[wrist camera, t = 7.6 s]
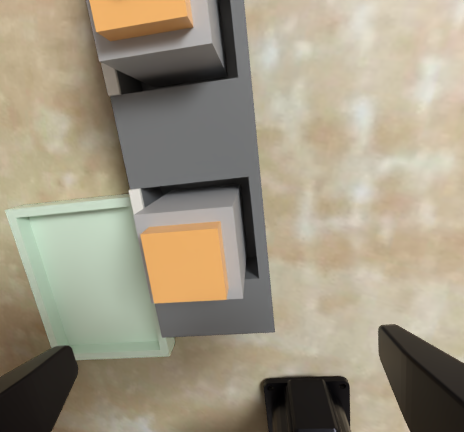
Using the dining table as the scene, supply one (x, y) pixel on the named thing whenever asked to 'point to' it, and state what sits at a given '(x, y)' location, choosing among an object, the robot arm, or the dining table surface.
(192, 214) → the plug
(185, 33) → the twin plug
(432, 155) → the dining table surface
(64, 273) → the tray
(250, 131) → the grey long block
